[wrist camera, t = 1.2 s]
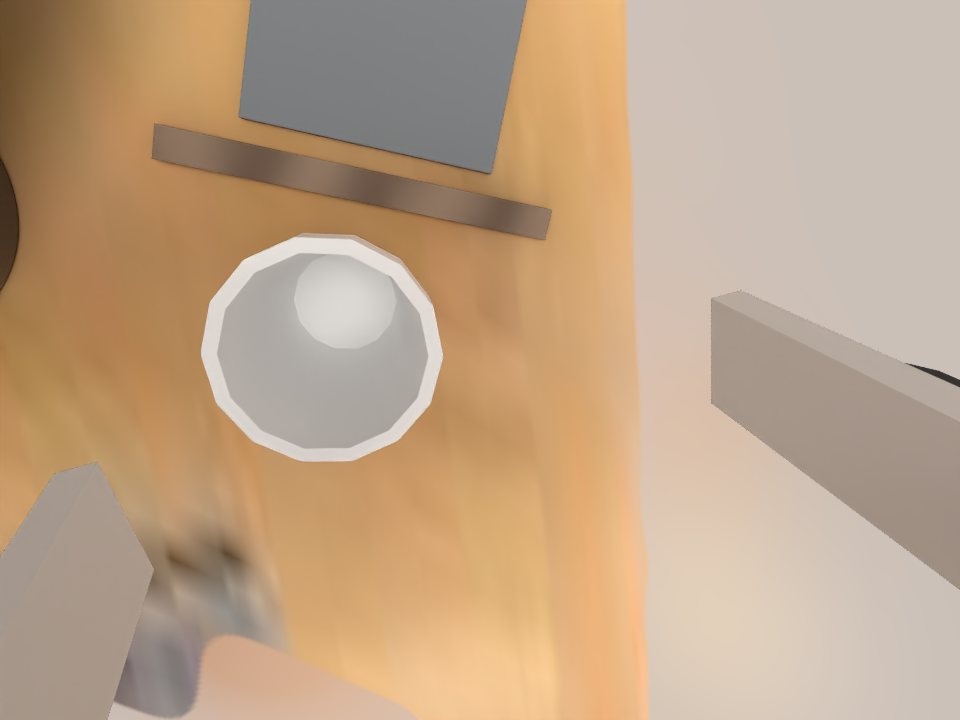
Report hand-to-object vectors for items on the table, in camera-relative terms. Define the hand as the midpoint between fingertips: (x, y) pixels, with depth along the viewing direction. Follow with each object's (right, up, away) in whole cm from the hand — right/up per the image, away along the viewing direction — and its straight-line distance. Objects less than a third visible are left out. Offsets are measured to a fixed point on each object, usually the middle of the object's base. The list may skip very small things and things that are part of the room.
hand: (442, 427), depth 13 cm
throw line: (-6, +12, +22) cm, 26 cm away
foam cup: (-7, +5, +24) cm, 26 cm away
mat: (-4, +19, +20) cm, 28 cm away
